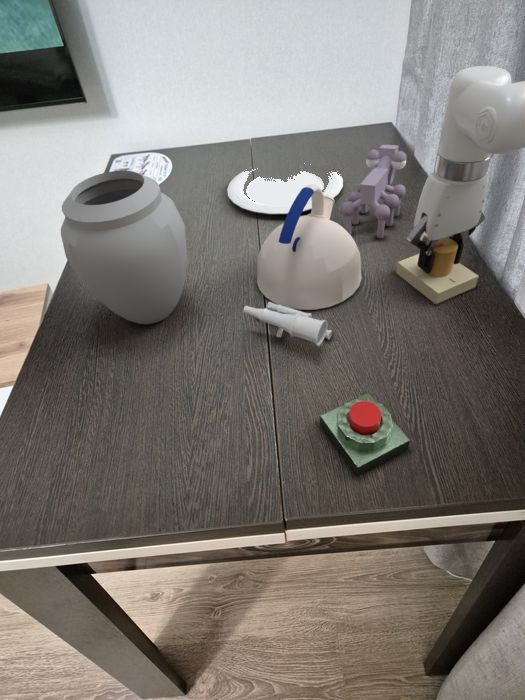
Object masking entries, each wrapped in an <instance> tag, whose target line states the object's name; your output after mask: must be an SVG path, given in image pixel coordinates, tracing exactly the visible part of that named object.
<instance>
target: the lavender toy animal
mask: <svg viewBox="0 0 525 700" xmlns="http://www.w3.org/2000/svg"><path fill="white" fill-rule="evenodd" d="M399 146H400V145H398V144H397V145H396V144H381V145H380V146H379V147H378V150H376V149H370V150H369V151H368V152H367V154H366V155H365V156H366V157H365V158H366V159H365V164H366V166H367V167H368V169H372V170H371V171H370V172H369V173H368V175H366V177H365V178H364V179H363V180H362V181H361V182H360V183H359V184H358V186H357V188H356V190H355V191H352V192H351V193H350V194H349V195H348V198H347V201H344V202H343V203H342V204H341V206H340V212H341V214H342V215H343V216H344V229H345V230H346V231H347V232H348V233H349V234H350V235H352V234H353V230H352V229H353V228H352V225H358V224H359V221H360V219H359V207H360V208H361V209H360V213H361V214H366V213H368V206H370V207H372V209H373V210H374V216H375V218H376V219H377V229H376V237H377V238H379V239H382V238H384V234H385V225H386V226H387V227H392V226H393V224H394V217H398V216H400V212H401V211H400V210H401V203H402V202H401V201H402V198H404V197H405V196H406V194H407V190H406V186H404V185H403V184H400V183H399V184H395V185H394V186H393V185H392V183H393V182H394V178H395V173H396V172H395V171H401V170H402V169H403V168H404V167H406V165H407V160H408V159H407V154H406V153H405V152H404V151H403V150H399ZM388 193H389V194H388ZM380 199H381V200H383V204H380V203H379V202H378V201H379V200H380Z"/></svg>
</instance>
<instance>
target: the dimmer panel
mask: <svg viewBox="0 0 525 700" xmlns="http://www.w3.org/2000/svg"><path fill="white" fill-rule="evenodd" d="M419 254H420V252H419V253H417V254H415V255H414V254H413V255H412V256H410V257H407V258H404V259H402V260H399V261H397V262H396V269H395V274H397V275H398V276H399V277H400V278H402V279H403V280H404V281H405V282H406V283H408V284H409V285H410V286H411V287H413V288H414V289H415V290H416V291H418V292H420V294H422V295H423V296H424V297H426V298H427V299H428V300H429V301H430V302H432V303H433V304H434V305H437V304H440V303H442V302H445V301H447V300H449V299H451V298H454V297H456V296H458V295H461V294H463V293H465V292H468V291H470V290H472V289H475V288H476V286H477V283H478V280H479V277H480V276H479V275H478V274H477V273H475V272H474V271H472V270H471V269H469V268H468V267H466V266H464V265H463V264H462V263H461V262H459V263H458V264H453V267H452V271H451V273H450V274H448V275H446V276H442V277H436V276H431V275H429V274H427V273H425V272H424V271H423V270H422V269H421V268H420V267H418V259H419Z"/></svg>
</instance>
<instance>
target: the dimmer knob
mask: <svg viewBox="0 0 525 700" xmlns="http://www.w3.org/2000/svg"><path fill="white" fill-rule="evenodd" d="M429 243H430V240H427V242H426V244H427V245H429ZM457 249H458V245H457V243H456V242H455V241H454V240H452V239H449V237H445V238H441V239H439V240H438V242H437V245H436V247H435V249H434V251H433V253H434V254H435V258H434V262H433V267H432V271H431V273H429V275H431V276H436V277H442V276H446V275H448V274H450V273H451V271H452V267H453V264H454V260H455V256H456V252H457Z"/></svg>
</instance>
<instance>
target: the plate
mask: <svg viewBox="0 0 525 700" xmlns="http://www.w3.org/2000/svg"><path fill="white" fill-rule="evenodd" d="M304 164H305V163H304ZM310 165H311V164H310ZM257 169H258V168H257ZM254 170H256V169H254ZM254 170H253V169H252V171H254ZM244 171H245V170H243V171H242V172H240V173H238V174H237V175H235V176H234V177H233V178H232V179H231V181H230V182H229V184H228V186H227V187H226V188H227V189H226V191H227V197H228V199H229V200H230V201H231V202H232V203H233V205H235V206H237V207H238V208H240V209H243V210H245V211H248V212H251V213H255V214H261V215H262V214H263V215H274V216H275V215H287V214H288V212H289V210H290V208H291V206H292V204H293V202H294V200H295V199H296V197H297V195H298V194H299V193H300V191H301V190H302V189H303V188H304V187H306V186H307V185H311V184H313V185H316V186H318V187H319V188H321V190H323V189H324V183H323V181H322V179H321V178H320V177H318V176H316V175H315V174H312V173H309V172H306V171H303V172H302V171H300V173H301V174H299V173H298V174H297V176H295V175H294V176H293V179H291V177H290V179H289V177H288V179H287V180H288V181H287V182H284V181H283V180H282V181H281V179H274V178H273V179H272V177H271V179H272V181H271V179H270V178H269V179H270V181H269V180H268V181H267V179H268V178H267V179H266V178H263V177H262V178H261V177H260V176H259V177H257V178H256V179H254V180H253V181H251V182H250V183H249V185H248V186H247V189H246V193H247V196H248V197H249V198H250V199H249V198H248V197H247V196H246V195H245V194H244V191H243V189H244V184H245V182H246V181H247V178H248V176H249V175H248V174H249V173H250V172H252V171H250V172H249V171H245V172H244ZM331 172H332V171H331ZM337 172H338V171H337ZM337 172H332V173H330V172H329V173H330V175H331V177H330V176H328V177H329V178H328V179H329V183H328V185H327V187H326V189H325V190H324V192H323V195H326V196H329V197H332V198H333V199H334V200H335V198H336V197H337V196H339V194H340V193H341V191H342V189H343V187H344V179H343V176H342V175H341V173H340V172H339V173H340V174H339V173H338V174H339V175H338V174H337ZM250 174H251V173H250ZM327 174H328V173H327ZM332 174H333V175H332ZM340 175H341V176H340ZM291 176H292V175H291ZM331 178H332V179H331ZM264 179H266V181H265V180H264ZM294 179H295V180H294ZM273 180H275V181H276V182H275V181H273ZM252 200H253V201H252ZM254 201H255V202H254ZM310 210H312V199H311V198H310V199H309V200H308V202H307V204H306V206H305V207H304V209H303V211H302V213H303V212H307V211H310Z"/></svg>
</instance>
